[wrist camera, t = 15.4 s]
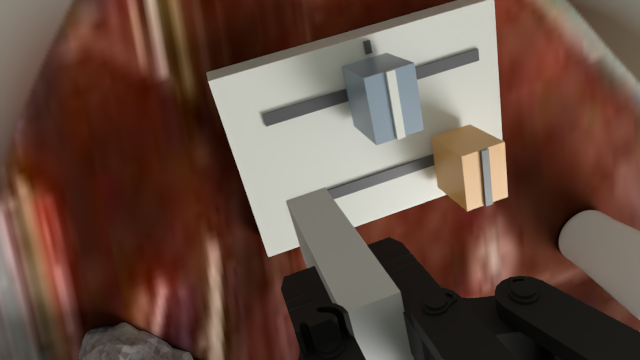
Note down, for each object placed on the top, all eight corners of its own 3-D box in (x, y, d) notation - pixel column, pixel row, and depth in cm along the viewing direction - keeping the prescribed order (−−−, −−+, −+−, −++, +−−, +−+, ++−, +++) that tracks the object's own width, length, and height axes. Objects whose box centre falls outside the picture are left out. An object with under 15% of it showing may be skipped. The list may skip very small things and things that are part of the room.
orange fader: (437, 187, 34) (468, 212, 30) (431, 137, 32) (463, 157, 28) (474, 174, 34) (509, 197, 31) (469, 124, 33) (506, 142, 29)
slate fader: (354, 126, 30) (377, 146, 27) (341, 66, 29) (364, 78, 25) (396, 112, 31) (425, 130, 27) (386, 52, 29) (416, 63, 25)
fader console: (262, 236, 36) (268, 258, 33) (205, 72, 30) (208, 82, 27) (482, 160, 39) (506, 175, 36) (468, -4, 33) (495, -2, 30)
